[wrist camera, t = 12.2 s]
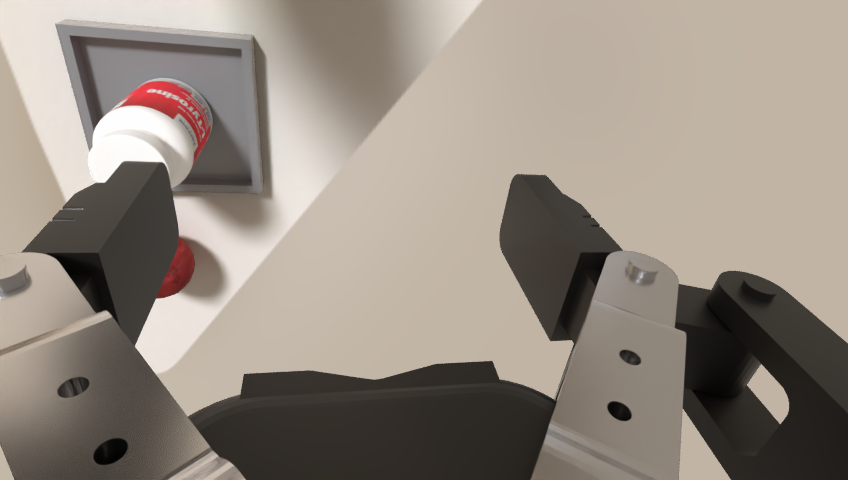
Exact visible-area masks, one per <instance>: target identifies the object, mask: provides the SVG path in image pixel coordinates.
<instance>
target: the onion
mask: <svg viewBox="0 0 848 480" xmlns="http://www.w3.org/2000/svg"><path fill="white" fill-rule="evenodd" d="M194 266H195V262H194V255H193V253H192V251H191V250H190V248H189V246H188V245H187V243H186V242H185V241H183V240H182V239H181V238H179V239H178V247H177V251H176V254H175V256H174V259H173V261H172V263H171V265H170V268H169V270H168V272H167V274H166V277H165V279H164V281H163V283H162V286H161V288H160V290H159V292H158V295H157V297H156V298H165V297H168V296H171V295H174V294H176V293H178V292H179V291H180V290H181V289H183V288H184V287H185V286H186V285H187V284H188V283H189V281H190V279H191V277H192V274H193V271H194Z"/></svg>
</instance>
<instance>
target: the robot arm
mask: <svg viewBox="0 0 848 480" xmlns="http://www.w3.org/2000/svg"><path fill="white" fill-rule="evenodd" d="M599 226H600V225H599V224H598V222H596V220H595V219H594V218H591V215H590V214H589V213H588V212H587V210H586V209H585V208H584V207H583V206H582V205H581V204H579V203H578V202H576V201H574V200H573V199H571V198H569V197H568V196H566V195H564V194H562V193H561V191H560V190H559V189H558V188H557V187H556V186H555V185H554V183H552V181H551V180H550V179H549V178H548V177H547V176H546V175H524V174H521V175H520V174H517V175H515V176H514V178H513V179H512V181H511V184H510V189H509V193H508V198H507V202H506V206H505V210H504V215H503V219H502V223H501V228H500V247H501V250H502V253H503V255H504V256H505V259H506V260H507V262H508V264H509V266H510V268H511V270H512V271H513V273H514V275H515V277H516V279H517V280H518V282H519V284H520V286H521V288H522V290H523V292H524V293H525V295H526V297H527V299H528V301H529V303H530V304H531V306H532V308H533V310H534V312H535V314H536V315H537V317H538V319H539V321H540V323H541V324H542V327H543V328H544V330H545V332H546V334H547V336H548V338H549V339H550V341H562V340H572V341H573V343H574V345H573V348H572V350H571V353H570V356H569V358H568V361H567V364H566V367H565V370H564V373H563V375H562V378H561V381H560V384H559V386H558V389H557V392H556V395H555V398H554V399H552V398H550V397H549V396H547V395H545V394H543V393H541V392H539V391H536V390H534V389H532V388H529V387H526V386H524V385H521V384H518V383H514V382H510V381H505V380H500V379H499V377H498V375H497V372H496V369H495V367H494V364H493V362H492V361H484V362H465V363H448V364H447V363H446V364H434V365H431V366H427V367H423V368H420V369H416V370H412V371H409V372H405V373H401V374H398V375H394V376H390V377H387V378H384V379H377V380H371V379H363V378H357V377H349V376H343V375H336V374H330V373H323V372H316V371H293V372H273V373H254V374H244V377H243V383H242V389H241V394H240V395H237V396H234V397H230V398H227V399H224V400H222V401H219V402H216V403H214V404H212V405H210V406H207V407H205V408H203V409H201V410H199V411H197V412H195V413H194V414H192V415H190V416H188V417H187V415H186V414H185V413H184V412H183V411H182V409H181V407H180V406H179V405H178V403H177V402H176V401H175V400H174V398H173V397H172V395H171V394H170V393H169V391H168V390H167V389H166V387H165V386H164V385H163V384H162V382H161V381H160V380H159V378H158V377H157V376H156V374H155V373H154V372H153V370H152V369H151V368H150V366H149V365H148V364H147V362H146V361H145V360H144V358H143V357H142V356H141V354H140V353H139V352H138V350H137V349H136V348H135V344H136V342H137V340H138V337H139V335H140V333H141V331H142V328H143V326H144V324H145V322H146V319H147V317H148V315H149V313H150V310H151V308H152V306H153V304H154V301H155V299H156V297H157V295H158V292H159V290H160V288H161V286H162V283H163V281H164V279H165V277H166V274H167V272H168V270H169V268H170V265H171V263H172V261H173V259H174V256H175V254H176V251H177V247H178V239H179V230H178V222H177V217H176V211H175V206H174V200H173V195H172V189H171V184H170V178H169V173H168V170H167V167H166V165H165V164H164V163H163V162H143V161H123V162H122V163H121V164H120V165H119V167H118V168H117V169H116V170H115V171H114V173H113V174H112V175H111V176H110V177H109V179H108V180H107V181H106V182H105V183H95V184H93V185H91V186H89V187H87V188H85V189H83V190H81V191H79V192H77V193H76V194H74V195H73V196H72V198H71V199H70V200H69V201H68V202H67V203H66V204H65V205H64V206H63V210H60V211H59V212H58V213H57V214H56V215H55V216H54V217H53V221H52V222H49V223H48V224H47V225H46V226H45V227H44V228H43V229H42V230H41V232H40V233H39V234H38V235H37V236H36V237H35V238H34V239H33V240H32V241H31V242H30V244H29V245H28V246H27V247H26V248H25V249H24V250H23V251H22V252H21V253H12V254H7V255H1V256H0V445H1V447H2V450H3V452H4V455H5V457H6V460H7V462H8V465H9V467H10V470H11V472H12V475H13V477H14V480H679V464H680V463H679V462H680V444H681V427H682V409H684V411H685V412H686V413H687V415H688V416H689V418H690V419H691V421H692V422H693V424H694V425H695V427H696V428H697V430H698V431H699V433H700V434H701V436H702V437H703V438H704V440H705V442H706V443H707V445H708V446H709V448H710V449H711V450H712V452H713V454H714V455H715V457H716V458H717V459H718V461H719V462H720V464H721V465H722V467H723V468H724V470H725V471H726V473H727V474H728V476H729V477H730V479H731V480H848V343H846V342H845V341H844V340H843V339H842V338H840V337H839V336H838V335H837V334H836V333H835V332H834V331H832V330H831V329H830V328H829V327H828V326H826V325H825V324H824V323H823V322H822V321H821V320H819V319H818V318H817V317H816V316H815V315H814V314H812V313H811V312H810V311H809V310H808V309H807V308H805V307H804V306H803V305H802V304H801V303H799V302H798V301H797V300H796V299H795V298H794V297H792V296H791V295H790V294H789V293H788V292H786V291H785V290H784V289H782V288H781V287H779V286H778V285H776V284H774V283H773V282H771V281H769V280H766V279H764V278H762V277H759V276H756V275H753V274H749V273H745V272H740V271H727V272H723V273H721V274H720V275H719V277H718V279H717V281H716V282H715V284H714V286H713V288H712V290H707V289H702V288H697V287H692V286H686V285H681V284H679V281H678V278H677V275H676V274H675V272H673V270H672V269H671V268H669V267H668V266H667V265H666V264H664V263H662V262H661V261H659V260H657V259H655V258H653V257H650V256H648V255H645V254H642V253H637V252H633V251H623V250H622V249H621V248H620V246H619V245H618V244H616V242H615V241H614V240H613V239H612V238H611V237H610V236H609V234H608V233H607V232H606V231H605V230H604V229H603V228H602V227H599ZM761 364H762V365H763V366H764V367H765V368H766V369H767V370H768V372H769V373H770V374H771V375H772V376H773V377H774V378H775V379H776V380H777V381H778V382H779V383H780V385H781V386H782V387H783V388H784V390H785V392H786V394H787V396H788V399H789V412H788V415H787V417H786V418H785V419H784V421H783V422H782V423H781V424H779V423H778V421H777V420H776V419H775V418H774V417H773V416H772V414H771V413H770V412H769V411H768V410H767V408H766V407H765V406H764V405H763V404H762V403H761V401H760V400H759V399H758V398H757V397H756V395H755V394H754V393H753V392H752V391H751V390H750V389H749V387H748V386H747V384H748V382H749V381H750V379H751V378H752V376H753V375H754V373H755V372H756V370H757V369H758V368H759V366H760V365H761Z"/></svg>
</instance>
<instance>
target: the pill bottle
mask: <svg viewBox="0 0 848 480" xmlns="http://www.w3.org/2000/svg"><path fill="white" fill-rule="evenodd" d="M212 124H213V120H212V114H211V111H210V108H209V106H208V104H207V102H206V101H205V99H204V98H203V97H202V96H201V95H200V94H199V93H198V92H197V91H196V90H195V89H194V88H192V87H191V86H189V85H188V84H186V83H184V82H181V81H179V80H175V79H171V78H157V79H152V80H149V81H147V82H145V83H143V84H141V85H140V86H139V87H137V88H136V89H135V90H134V91H133V92H131V93H130V94H129V95H128V96H127V97H126V98H124V99H123V100H122V101H121V102H120V103H119V104H117V105H116V106H115V107H114V108H113V109H112V110H111V111H109V112H108V113H107V114H106V115H105V116H104V117H103V118H102V119H101V120H100V121H99V123H98V124H97V126H96V128H95V130H94V133H93V141H92V144H93V147H92V148H91V150H90V153H89V156H88V167H89V171H90V174H91V176H92V178H93V179H94V181H95V182H96V183H105V182H106V181H107V180H108V179H109V177H110V176H111V175H112V174H113V173H114V171H115V170H116V169H117V168H118V167H119V165H120V164H121V163H122V162H123V161H143V162H163V163H164V164H165V165H166V167H167V170H168V173H169V178H170V184H171V188H173V187H175V186H177V185H178V184H180V183H181V182H182V181H183V180H184V179H185V178H186V177H187V175H188V174H189V172H190V171H191V169H192V167H193V165H194V163H195V162H196V160H197V158H198V156H199V154H200V153H201V151H202V149H203V147H204V145H205V143H206V142H207V140H208V138H209V136H210V133H211V130H212Z"/></svg>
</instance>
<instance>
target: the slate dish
mask: <svg viewBox="0 0 848 480" xmlns="http://www.w3.org/2000/svg"><path fill="white" fill-rule="evenodd" d="M55 25H56V29H57V32H58V36H59V40H60V44H61V47H62V51H63V55H64V58H65V62H66V66H67V70H68V73H69V77H70V81H71V85H72V88H73V92H74V96H75V99H76V103H77V107H78V111H79V114H80V118H81V122H82V126H83V129H84V133H85V137H86V140H87V144H88V148H89V152H90V150H91V148H92V147H93V144H92V141H93V133H94V130H95V128H96V126H97V124H98V123H99V121H100V120H101V119H102V118H103V117H104V116H105V115H106V114H107V113H108V112H109V111H111V110H112V109H113V108H114V107H115V106H116V105H117V104H119V103H120V102H121V101H122V100H123V99H124V98H126V97H127V96H128V95H129V94H130V93H131V92H133V91H134V90H135V89H136V88H137V87H139V86H140V85H141V84H143V83H145V82H147V81H149V80H152V79H157V78H171V79H175V80H179V81H181V82H184V83H186V84H188V85H189V86H191V87H192V88H194V89H195V90H196V91H197V92H198V93H199V94H200V95H201V96H202V97H203V98H204V99H205V101H206V102H207V104H208V106H209V108H210V111H211V114H212V120H213V124H212V130H211V133H210V136H209V138H208V140H207V142H206V143H205V145H204V147H203V149H202V151H201V153H200V154H199V156H198V158H197V160H196V162H195V163H194V165H193V167H192V169H191V171H190V172H189V174H188V175H187V177H186V178H185V179H184V180H183V181H182V182H181V183H180V184H178V185H177V186H175V187H173V188H171V189H172V191H178V192H226V193H261V192H262V188H263V173H262V159H261V144H260V130H259V115H258V101H257V86H256V72H255V57H254V43H253V35H242V34H231V33H219V32H207V31H195V30H183V29H172V28H160V27H148V26H136V25H125V24H113V23H101V22H89V21H78V20H64V21H61V22H59V23H56V24H55Z"/></svg>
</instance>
